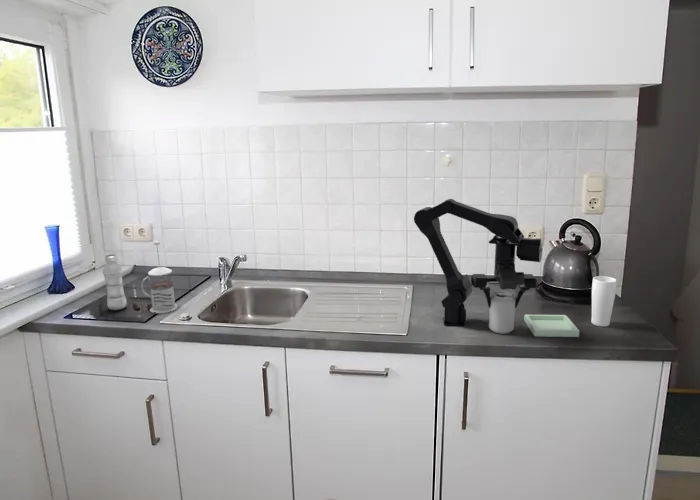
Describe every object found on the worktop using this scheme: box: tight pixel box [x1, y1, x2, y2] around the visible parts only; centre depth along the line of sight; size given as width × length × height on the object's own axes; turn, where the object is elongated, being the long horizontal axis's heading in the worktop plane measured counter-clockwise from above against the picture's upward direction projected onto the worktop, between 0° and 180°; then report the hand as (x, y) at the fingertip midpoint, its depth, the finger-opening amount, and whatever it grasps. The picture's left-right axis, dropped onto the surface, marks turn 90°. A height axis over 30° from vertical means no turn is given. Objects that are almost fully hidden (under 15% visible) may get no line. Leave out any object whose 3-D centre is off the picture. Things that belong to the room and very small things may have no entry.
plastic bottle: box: [102, 253, 127, 311], centre depth 185 cm, size 6×7×20 cm
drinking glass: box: [590, 275, 617, 328], centre depth 163 cm, size 7×7×15 cm
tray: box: [523, 314, 580, 338], centre depth 162 cm, size 13×13×2 cm
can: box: [488, 290, 516, 335], centre depth 160 cm, size 8×8×12 cm
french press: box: [140, 240, 179, 314], centre depth 184 cm, size 10×12×25 cm
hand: (502, 307), depth 160 cm, fingers closed on can, 7 cm apart
